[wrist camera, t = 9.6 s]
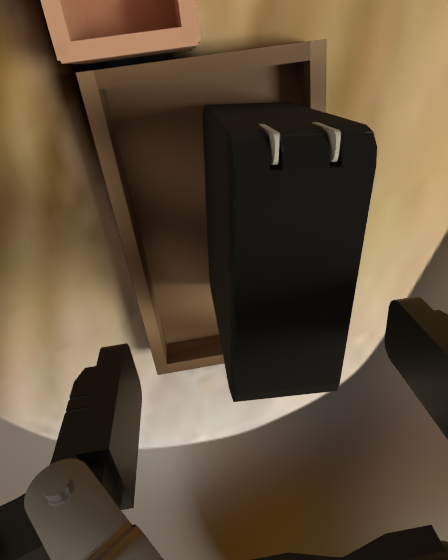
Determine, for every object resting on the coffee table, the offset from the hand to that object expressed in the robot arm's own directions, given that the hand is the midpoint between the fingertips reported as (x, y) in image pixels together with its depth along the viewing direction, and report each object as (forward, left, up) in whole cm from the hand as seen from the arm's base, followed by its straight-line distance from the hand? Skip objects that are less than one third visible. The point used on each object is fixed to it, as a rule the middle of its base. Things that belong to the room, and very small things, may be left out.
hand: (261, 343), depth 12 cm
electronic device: (-1, +1, -11) cm, 11 cm away
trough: (0, 0, -12) cm, 12 cm away
